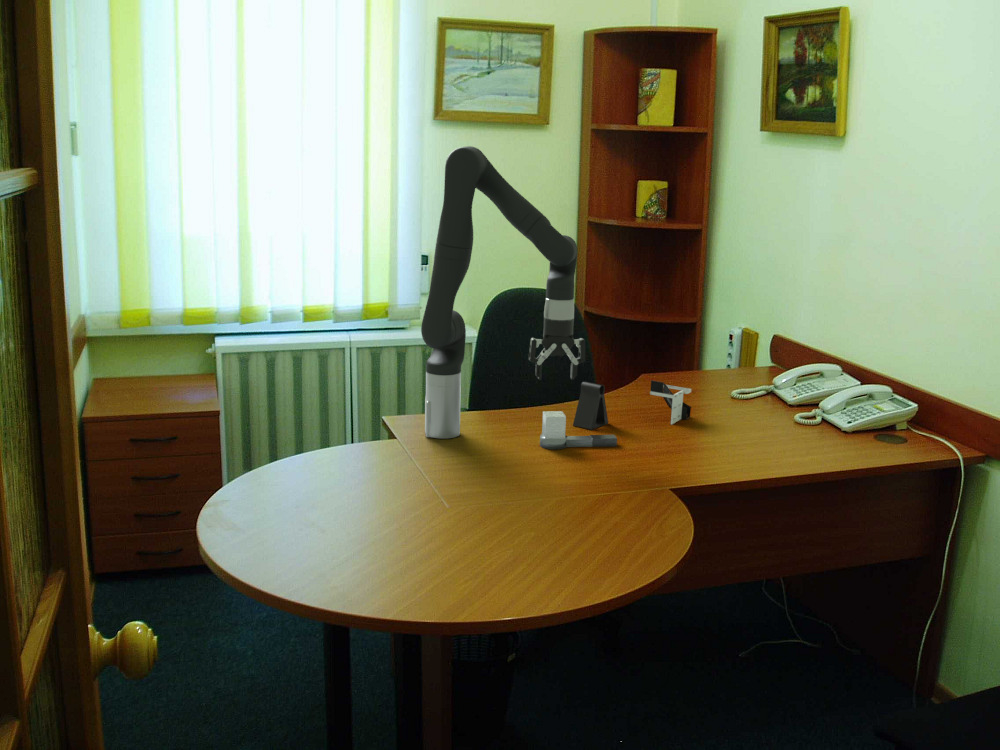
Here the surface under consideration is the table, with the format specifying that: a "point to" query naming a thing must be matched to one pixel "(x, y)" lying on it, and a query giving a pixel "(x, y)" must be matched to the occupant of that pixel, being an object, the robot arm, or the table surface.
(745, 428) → the table surface
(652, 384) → the two-tone angle bracket
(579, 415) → the dark folded stand
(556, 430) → the small white cube
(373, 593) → the table surface
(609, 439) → the ratchet
